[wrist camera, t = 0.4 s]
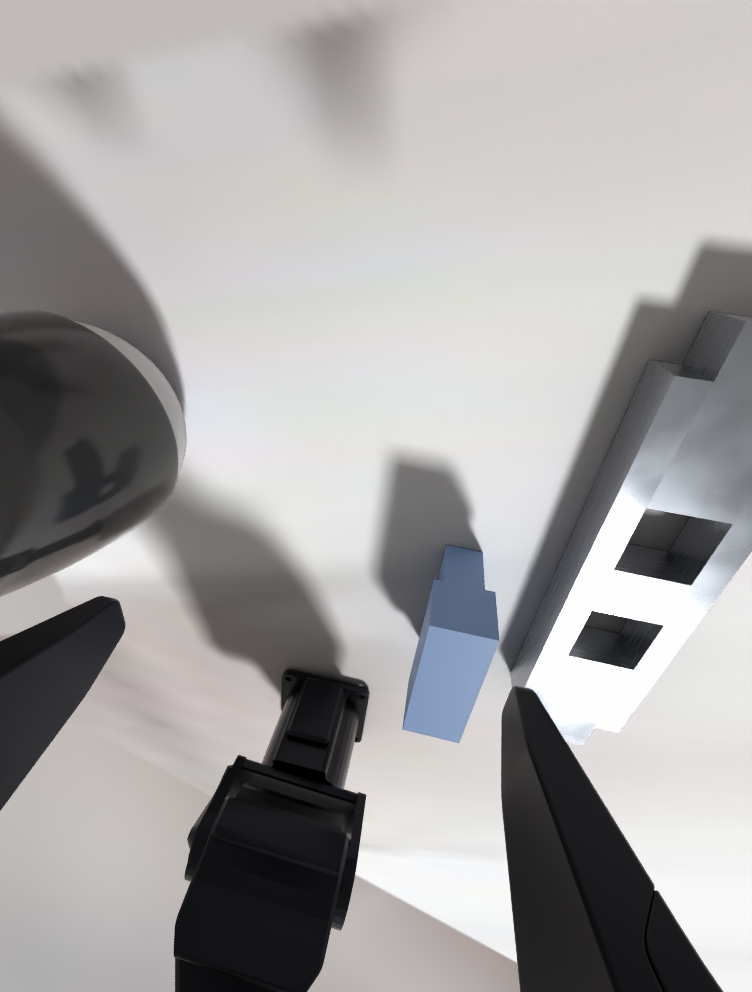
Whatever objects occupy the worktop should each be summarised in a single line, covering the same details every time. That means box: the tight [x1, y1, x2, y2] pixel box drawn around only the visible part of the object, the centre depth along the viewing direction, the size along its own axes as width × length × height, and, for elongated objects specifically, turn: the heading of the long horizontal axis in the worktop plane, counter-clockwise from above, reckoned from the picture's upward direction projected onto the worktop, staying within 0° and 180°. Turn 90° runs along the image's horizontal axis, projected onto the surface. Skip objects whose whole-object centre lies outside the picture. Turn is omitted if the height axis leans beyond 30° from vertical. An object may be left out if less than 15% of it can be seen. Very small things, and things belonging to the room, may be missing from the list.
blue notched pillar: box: [403, 545, 499, 743], centre depth 23 cm, size 8×3×6 cm, turn 173°
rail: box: [511, 311, 752, 746], centre depth 21 cm, size 24×6×2 cm, turn 173°
